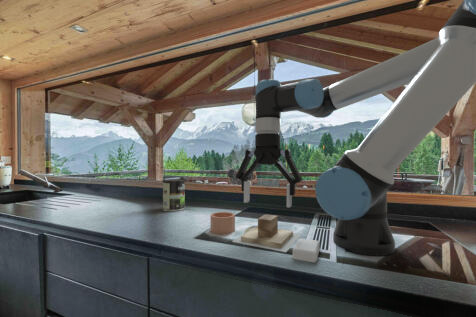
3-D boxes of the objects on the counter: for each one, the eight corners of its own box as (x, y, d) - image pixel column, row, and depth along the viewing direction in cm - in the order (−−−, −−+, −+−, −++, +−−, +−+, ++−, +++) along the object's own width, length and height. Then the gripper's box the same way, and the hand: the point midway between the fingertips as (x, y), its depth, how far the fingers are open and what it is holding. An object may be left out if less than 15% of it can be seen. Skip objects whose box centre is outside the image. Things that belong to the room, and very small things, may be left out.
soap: (316, 265, 53) (316, 252, 53) (291, 261, 56) (291, 248, 56) (319, 251, 61) (319, 240, 61) (298, 248, 64) (298, 237, 64)
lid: (293, 235, 72) (293, 215, 72) (281, 248, 62) (281, 224, 62) (257, 229, 78) (257, 211, 78) (241, 240, 68) (241, 219, 68)
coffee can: (188, 207, 116) (188, 179, 116) (179, 212, 106) (179, 181, 106) (169, 206, 118) (169, 178, 118) (158, 211, 108) (158, 180, 108)
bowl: (239, 229, 79) (239, 213, 79) (226, 236, 72) (226, 218, 72) (219, 226, 83) (219, 211, 83) (205, 232, 76) (205, 215, 76)
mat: (301, 235, 73) (301, 234, 73) (286, 253, 59) (286, 252, 59) (254, 228, 81) (254, 227, 81) (231, 243, 67) (231, 241, 67)
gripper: (312, 133, 67) (312, 206, 68) (237, 136, 79) (236, 198, 79) (307, 130, 61) (306, 211, 61) (225, 134, 73) (225, 202, 73)
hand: (266, 204), depth 70 cm, fingers open, 13 cm apart
